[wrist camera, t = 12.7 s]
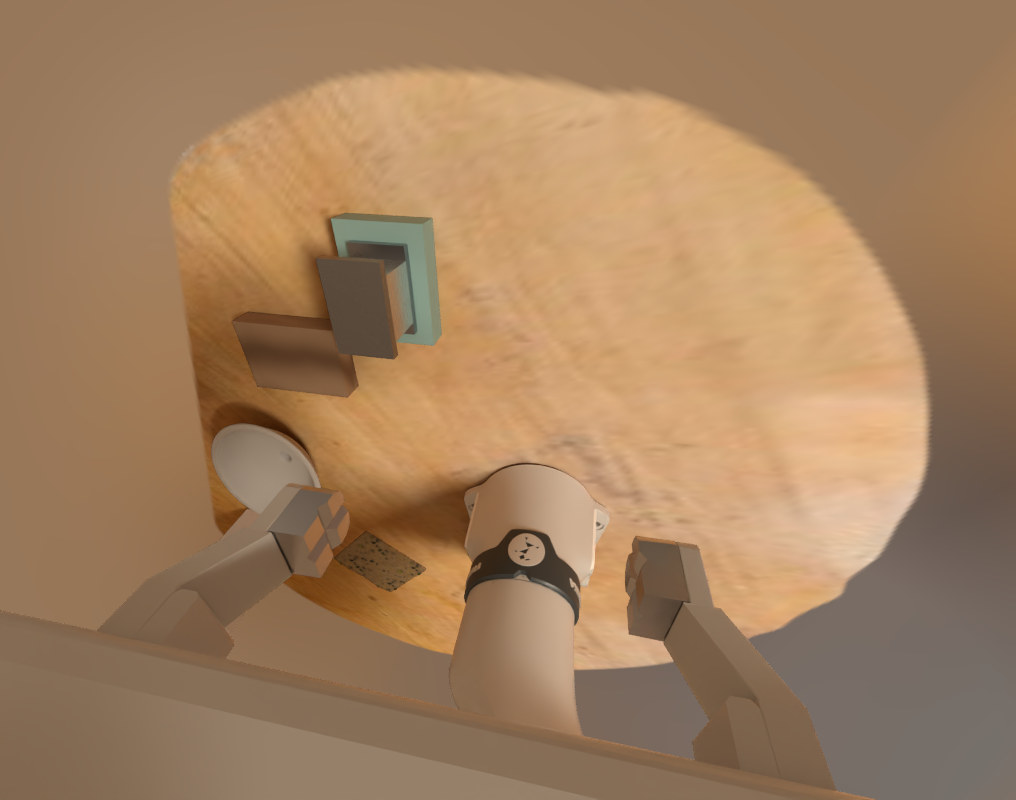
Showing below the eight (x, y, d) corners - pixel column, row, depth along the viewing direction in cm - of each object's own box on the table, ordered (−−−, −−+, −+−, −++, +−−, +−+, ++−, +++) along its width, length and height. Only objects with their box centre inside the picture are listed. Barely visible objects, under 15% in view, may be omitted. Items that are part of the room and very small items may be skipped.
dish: (231, 384, 51) (199, 408, 47) (342, 421, 51) (320, 447, 47) (246, 478, 61) (222, 503, 57) (339, 508, 61) (320, 535, 57)
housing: (407, 243, 34) (378, 262, 30) (417, 331, 39) (394, 359, 34) (351, 239, 35) (315, 258, 30) (368, 326, 39) (338, 353, 35)
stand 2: (441, 334, 41) (433, 345, 39) (367, 327, 42) (355, 337, 40) (432, 218, 35) (422, 224, 33) (345, 212, 36) (330, 218, 34)
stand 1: (358, 385, 47) (347, 397, 45) (271, 375, 48) (257, 386, 46) (343, 320, 43) (331, 330, 40) (248, 311, 44) (231, 321, 42)
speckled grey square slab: (366, 527, 63) (363, 532, 63) (428, 566, 67) (426, 572, 66) (333, 555, 70) (330, 560, 69) (392, 590, 73) (389, 595, 72)
